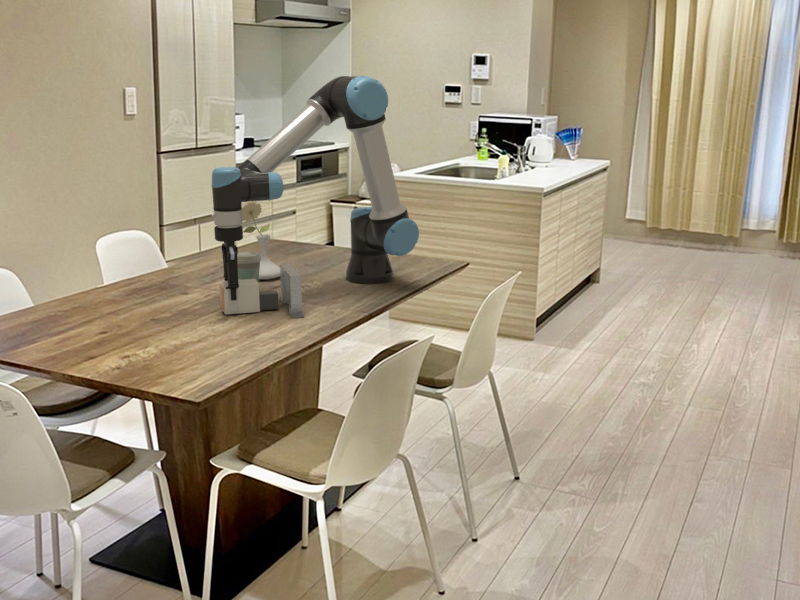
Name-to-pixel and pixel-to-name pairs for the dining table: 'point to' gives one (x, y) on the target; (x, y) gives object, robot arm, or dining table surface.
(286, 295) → the bar
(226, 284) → the plug
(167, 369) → the dining table surface
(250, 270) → the coffee cup
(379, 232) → the robot arm
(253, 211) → the flower in vase
